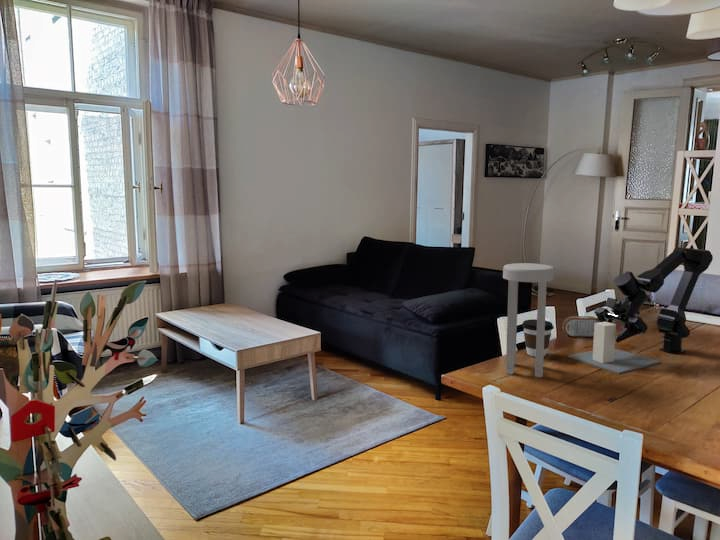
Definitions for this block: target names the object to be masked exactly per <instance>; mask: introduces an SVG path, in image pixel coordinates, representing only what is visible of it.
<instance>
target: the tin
mask: <svg viewBox="0 0 720 540" xmlns="http://www.w3.org/2000/svg"><path fill="white" fill-rule="evenodd" d="M595 323H598V317H595V316H592V315H591V316H588V315H587V316H585V315H584V316H583V315H581V316H580V315H569V316H568V317H566V318H565V319H564V320H563V322H562V324H561V328H562V332H564V334H566V335H567V336H568V335H569V337H572V338H594V324H595Z"/></svg>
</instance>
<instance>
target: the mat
mask: <svg viewBox="0 0 720 540" xmlns="http://www.w3.org/2000/svg"><path fill="white" fill-rule="evenodd" d="M567 358H568V359H571V360H574V361H576V362H577V361H578V362H581V363H583V364H587V365H589V366H592V367H596V368H598V367H599V369H602V370H604V371H607V372H610V373H614V374H617V375H620V373H621V374H623V373H629V372H631V371H634V370H636V371H637V370H638V369H639V370H640V369H642V368H646V367H650V366H654V365H658V364H661V361H660V360H657V359H653V358H650V357H646V356H642V355H640V354H639V355H638V354H635V353H632V352H629V351H625V350H622V349H618V348H615V351H614V361H613V362H607V363H601V362H598V361H596V360H593V349H592V350H588V351H584V352H580V353H576V354H570V355H567Z"/></svg>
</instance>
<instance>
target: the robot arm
mask: <svg viewBox="0 0 720 540" xmlns="http://www.w3.org/2000/svg"><path fill="white" fill-rule="evenodd" d="M713 258H714V256H713V254H712V252H711V251H710V250H709V249H700V248H688V247H679V246H678V247H675V248H673V250H672V252H671V253H670V254H668V255H667V256H666V257H665V258H664V259H663V260H662V261H660V262H659V263H658V264H656V266H655V267H654V268H652V269H649V270H646V271H643V272H642V273H640V274H639V275H637V276H636V277H635V275H634V273H633V272H632V271H627V270H626V271H625V272H623V273H621V274H619V275H618V276H616V277H615V278H614V280H613V283H614V285H615V286H616V287H617V289H618V290H619V291H620V292H621V294H622V295H624V296H626V297H625V298H621V299H616V298H613V297H607V299H606V302H605V304H604V307H596V309H595V310H594V312H593V313H594V314H595V316H596V318H597V319H598V323H599V322H609V323H612V322H613V321H615V322H619V323H622V324H624V327H623V328H622V330H621V331H620V333H619V334H618V335H617V337H616V338H615V343H621V342H622V341H623V342H624V341H625V340H628V339H629V338H631V337H634V336H637V335H641V334H645V333H646V332H647V331H648V327H649V326H648V325H647V324H646V322H645V321H644V320H643V318H642V317H640V316H639V315H640V314H641V312H640V311H639V310H640V309H641V308H642V307H643V305H644V304H645V303H648V304H651V303H652V300H651V295H650V294H648V292H649V293H654V294H656V293H657V292H658V291H660V289H661V288H662V287H663V285H665V279H666V278H667V277H668V276H670V275H671V274H672V273H673V272H674V271H675V270H676V269H678V267H680V266H681V265H682V264H683V269H684V270H683V272H682V275H681V277H680V280H679V281H678V285H677V286H676V289H675V292H674V294H673V297H672V299H671V301H670V303H669V305H668V306H667V307H665V308H664V307H661V309H660V311H659V314H658V316H657V317H656V320H657V321H656V324H657V329H658V332H659V333H660V334H664V335H663V342H662V343H663V345H662V347H659V349H658V350H659V351H663V352H667V353H669V354H670V353H671V354H674V355H677V354H681V353H686V352H687V350H686V349H684V348H683V339H687V338H689V336H690V333H691V330H690V329H689V328H688V326H687V325H686V321H687V317H686V313H685V310H686V308H687V307H688V303H689V301H690V299H691V296H692V294H693V291H694V289H695V286H696V285H697V283H698V279H699V277H700V275H702V274H703V273H704V272H705V271H707V270H708V269H709V267H710V265H711V264H712V261H713ZM646 292H647V293H646ZM605 307H607V308H605ZM608 308H609V309H610V310H609V309H608ZM610 311H611V312H612V313H611V312H610Z"/></svg>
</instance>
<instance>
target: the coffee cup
mask: <svg viewBox="0 0 720 540" xmlns="http://www.w3.org/2000/svg"><path fill="white" fill-rule="evenodd" d="M521 328H523V336H524V342H525V349H526V353H527V355H528V356H529V355H530V356H529V357H532V356H534V358H536V334H537V318H536V319H526V320H523V321H522V323H521ZM553 329H554V325H553V323H552V322H550V321H549V320H545V334H544V357H546V355H547V352H548V348H549V346H550V342H551V341H550V340H551V335H552V330H553Z"/></svg>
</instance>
